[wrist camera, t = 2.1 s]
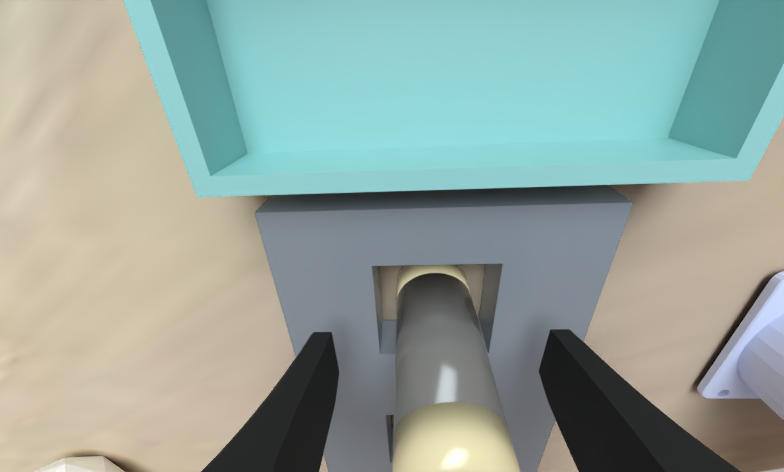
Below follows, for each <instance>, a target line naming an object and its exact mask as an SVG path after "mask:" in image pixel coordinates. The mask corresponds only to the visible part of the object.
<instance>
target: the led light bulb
mask: <svg viewBox="0 0 784 472" xmlns="http://www.w3.org/2000/svg"><path fill="white" fill-rule="evenodd" d="M392 472H520V468H519V465H518V461H517V458H516V454H515V450H514V447H513V443H512V440H511V436H510V433H509V429H508V426H507V422H506V418H505V415H504V411H503V408H502V404H501V401H500V397H499V394H498V390H497V387H496V383H495V379H494V376H493V372H492V369H491V365H490V362H489V358H488V355H487V351H486V348H485V344H484V340H483V337H482V333H481V330H480V326H479V323H478V319H477V316H476V312H475V308H474V305H473V301H472V298H471V294H470V291H469V287H468V284H467V280H466V277H465V273H464V270H463V268H462V267H461V265H460V264H452V265H404V266H403V267H402V268H401V270H400V272H399V274H398V282H397V319H396V355H395V392H394V429H393V465H392Z"/></svg>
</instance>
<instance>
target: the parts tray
mask: <svg viewBox="0 0 784 472" xmlns="http://www.w3.org/2000/svg"><path fill="white" fill-rule="evenodd" d="M123 1H124V4H125V7H126V9H127V12H128V15H129V17H130V20H131V23H132V25H133V28H134V31H135V33H136V36H137V39H138V41H139V44H140V47H141V49H142V52H143V55H144V57H145V60H146V63H147V65H148V68H149V71H150V73H151V76H152V79H153V81H154V84H155V87H156V89H157V92H158V95H159V97H160V100H161V103H162V105H163V108H164V111H165V113H166V116H167V119H168V121H169V124H170V127H171V129H172V132H173V135H174V137H175V140H176V143H177V145H178V148H179V151H180V153H181V156H182V159H183V161H184V164H185V167H186V169H187V172H188V175H189V177H190V180H191V183H192V185H193V188H194V191H195V193H196V196H197V197H222V196H255V195H288V194H321V193H354V192H387V191H419V190H452V189H485V188H518V187H551V186H584V185H617V184H650V183H683V182H716V181H748V180H750V178H751V176H752V174H753V172H754V170H755V169H756V167H757V165H758V163H759V161H760V159H761V157H762V156H763V154H764V152H765V150H766V148H767V146H768V144H769V142H770V141H771V139H772V137H773V135H774V133H775V131H776V129H777V128H778V126H779V124H780V122H781V120H782V118H783V116H784V0H123Z"/></svg>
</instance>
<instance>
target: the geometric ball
mask: <svg viewBox="0 0 784 472" xmlns="http://www.w3.org/2000/svg"><path fill="white" fill-rule="evenodd" d="M34 472H125V471H123V470H122V469H120V468H119V467H118V466H116V465H115V464H113V463H112V462H111V461H109V460H108V459H107V458H105V457H104V456H89V457H68V458H62V459H60V460H58V461H55V462H53V463H51V464H49V465H47V466H44V467H42V468H40V469H38V470H36V471H34Z"/></svg>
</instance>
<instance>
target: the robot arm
mask: <svg viewBox="0 0 784 472" xmlns="http://www.w3.org/2000/svg"><path fill="white" fill-rule="evenodd" d="M539 374H540V378H541V381H542V384H543V388H544V391H545V394H546V397H547V400H548V403H549V405H550V408H551V410H552V412H553V415H554V417H555V419H556V421H557V424H558V426H559V428H560V431H561V433H562V435H563V437H564V439H565V442H566V444H567V446H568V448H569V451H570V453H571V455H572V457H573V460H574V462H575V464H576V466H577V469H578V471H579V472H740V471H739V470H738V469H736V468H735V467H733V466H732V465H731V464H729V463H728V462H726V461H725V460H724V459H722V458H721V457H720V456H718V455H717V454H716V453H714V452H713V451H712V450H710V449H709V448H708V447H706V446H705V445H704V444H702V443H701V442H700V441H698V440H697V439H696V438H694V437H693V436H692V435H690V434H689V433H688V432H686V431H685V430H684V429H683V428H681V427H680V426H679V425H678V424H676V423H675V422H674V421H673V420H671V419H670V418H669V417H668V416H667V415H665V414H664V413H663V412H662V411H660V410H659V409H658V408H657V407H656V406H654V405H653V404H652V403H651V402H650V401H648V400H647V399H646V398H645V397H644V396H642V395H641V394H640V393H639V392H638V391H637V390H636V389H634V388H633V387H632V386H631V385H630V384H629V383H628V382H626V381H625V380H624V379H623V378H622V377H621V376H620V375H619V374H617V373H616V372H615V371H614V370H613V369H612V368H611V367H610V366H609V365H608V364H606V363H605V362H604V361H603V360H602V359H601V358H600V357H599V356H598V355H597V354H596V353H595V352H593V351H592V350H591V349H590V348H589V347H588V346H587V345H586V344H585V343H584V342H583V341H582V340H581V339H580V338H578V337H577V336H576V335H575V334H574V333H573V332H572V331H571V330H570V329H550V332H549V335H548V339H547V342H546V346H545V350H544V353H543V357H542V360H541V364H540V368H539ZM338 379H339V367H338V362H337V357H336V352H335V347H334V342H333V336H332V332H313V333H312V334H311V336H310V337H309V339H308V340H307V342H306V343H305V345H304V346H303V348H302V349H301V351H300V352H299V354H298V355H297V357H296V358H295V360H294V361H293V363H292V364H291V365H290V367H289V368H288V370H287V371H286V372H285V374H284V375H283V377H282V378H281V379H280V381H279V382H278V383H277V385H276V386H275V387H274V389H273V390H272V391H271V393H270V394H269V395H268V397H267V398H266V399H265V400H264V402H263V403H262V404H261V405H260V407H259V408H258V409H257V410H256V412H255V413H254V414H253V415H252V417H251V418H250V419H249V420H248V421H247V422H246V424H245V425H244V426H243V427H242V428H241V429H240V431H239V432H238V433H237V434H236V435H235V436H234V437H233V439H232V440H231V441H230V442H229V443H228V444H227V445H226V446H225V447H224V448H223V450H222V451H221V452H220V453H219V454H218V455H217V456H216V457H215V458H214V459H213V460H212V461H211V462H210V463H209V464H208V465H207V466H206V467H205V468H204V469H203V470H202V471H201V472H319V469H320V465H321V461H322V457H323V452H324V448H325V444H326V440H327V436H328V432H329V428H330V424H331V419H332V415H333V411H334V407H335V402H336V394H337V387H338ZM697 391H698V392H699V393H700V394H701V396H702V397H704V398H710V399H761V400H763V401H764V402H765V403H766V404H767V405H768V406H769V407H770V408H771V409H772V410H773V411H774V412H775V413H776V414H777V415H778V416H779V417H780V418H781V419H782V420H783V421H784V271H782V272H779V273H777V274H776V275H774V276H773V277H772V278H771V279H770V281H769V282H768V284H767V285H766V287H765V288H764V290H763V291H762V293H761V294H760V295H759V297H758V298H757V300H756V301H755V303H754V304H753V306H752V307H751V309H750V310H749V312H748V313H747V315H746V316H745V318H744V319H743V320H742V322H741V323H740V325H739V326H738V328H737V329H736V331H735V332H734V334H733V335H732V337H731V338H730V340H729V341H728V342H727V344H726V345H725V347H724V348H723V350H722V351H721V353H720V354H719V356H718V357H717V359H716V360H715V362H714V363H713V365H712V366H711V367H710V369H709V370H708V372H707V373H706V375H705V376H704V378H703V379H702V381H701V382H700V384H699V385H698V387H697Z"/></svg>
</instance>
